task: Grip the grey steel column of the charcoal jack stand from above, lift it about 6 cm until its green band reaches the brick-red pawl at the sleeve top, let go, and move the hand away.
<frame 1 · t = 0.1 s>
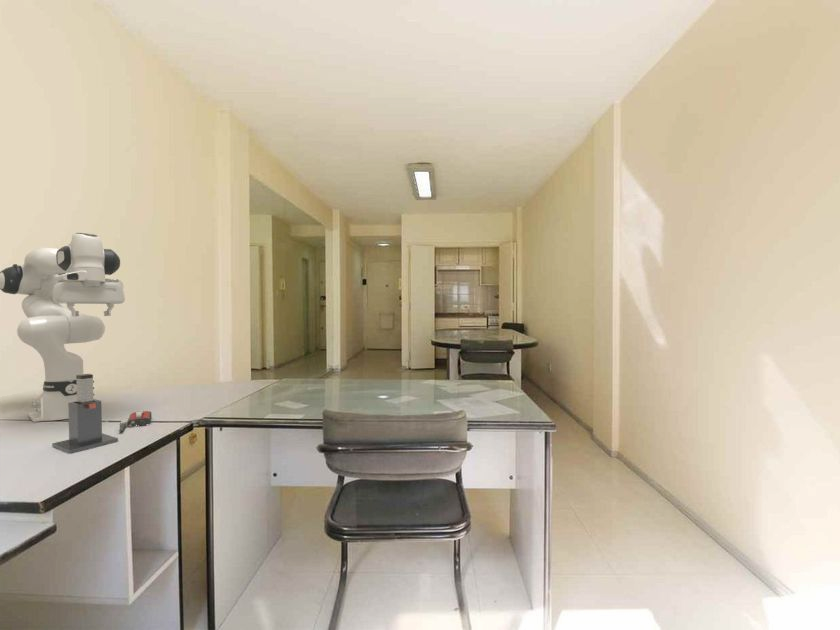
hand: (91, 316, 142), 39 cm above the table, tool pointing down, fingers open, 8 cm apart
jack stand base: (85, 444, 122), on the table
column: (85, 407, 122), point 11 cm above the table, slide at 0.0 cm
walkie-talkie: (135, 426, 142), on the table
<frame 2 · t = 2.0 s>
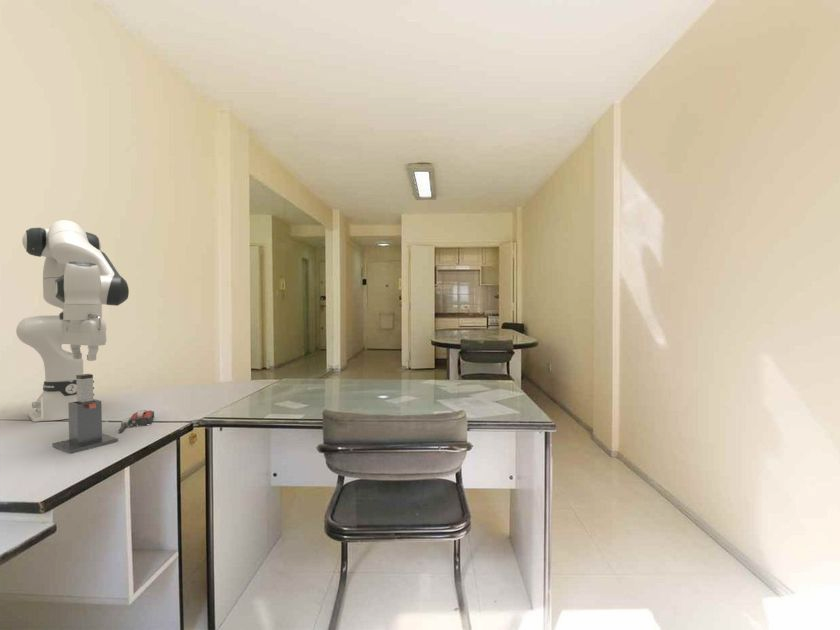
hand: (84, 359, 122), 26 cm above the table, tool pointing down, fingers open, 8 cm apart
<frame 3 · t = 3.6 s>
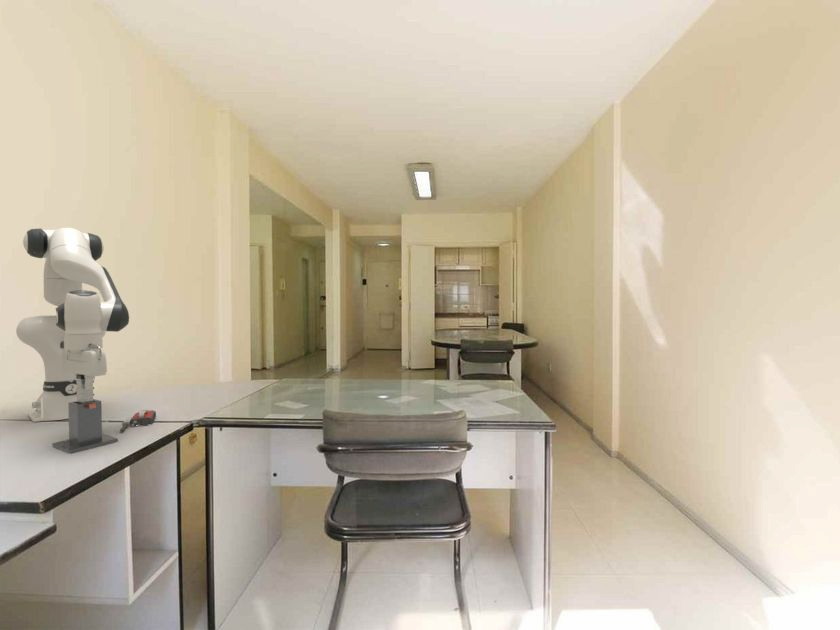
hand: (84, 388, 122), 17 cm above the table, tool pointing down, fingers closed on column, 3 cm apart
column: (85, 407, 122), point 11 cm above the table, slide at 0.0 cm, touching gripper
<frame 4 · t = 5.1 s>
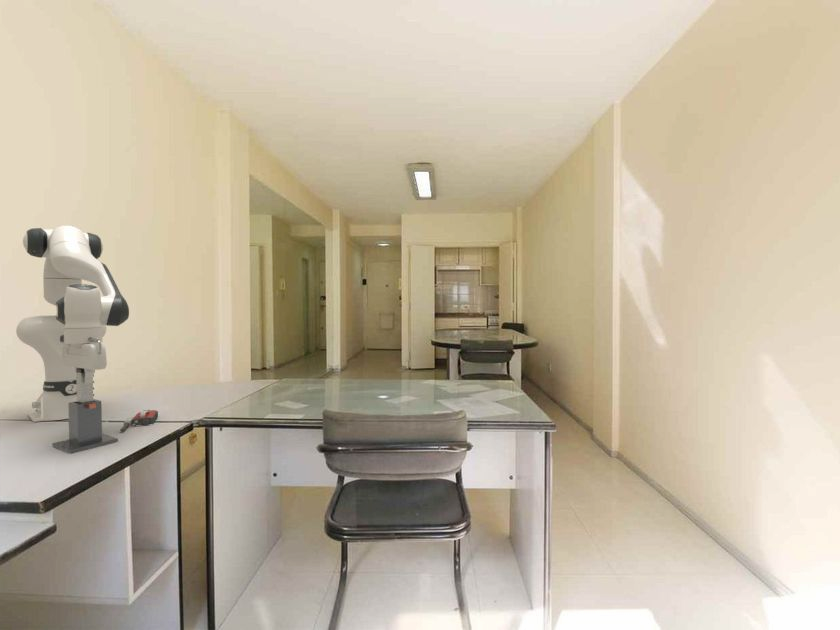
hand: (84, 382, 122), 19 cm above the table, tool pointing down, fingers closed on column, 3 cm apart
column: (85, 401, 122), point 13 cm above the table, slide at 1.9 cm, touching gripper
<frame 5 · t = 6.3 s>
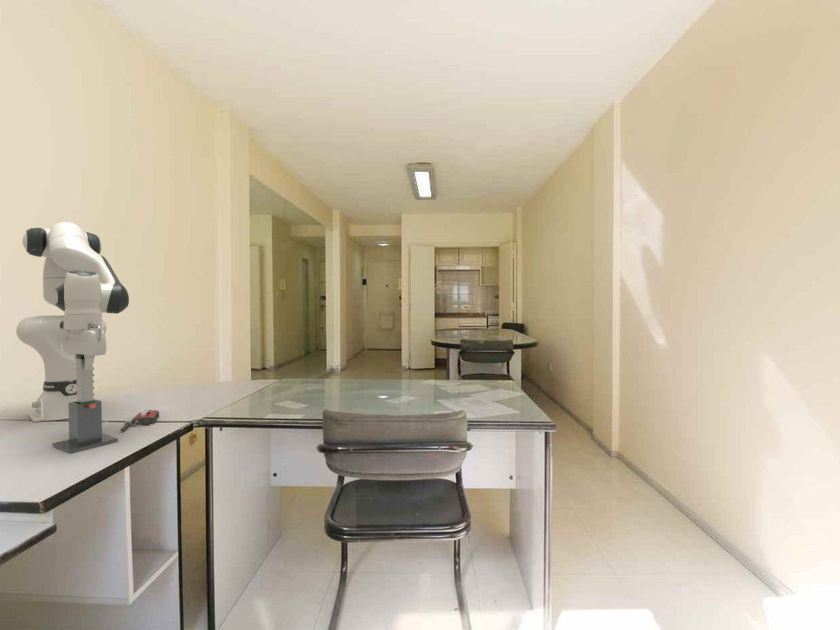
hand: (84, 368, 122), 23 cm above the table, tool pointing down, fingers closed on column, 3 cm apart
column: (85, 387, 122), point 17 cm above the table, slide at 6.0 cm, touching gripper
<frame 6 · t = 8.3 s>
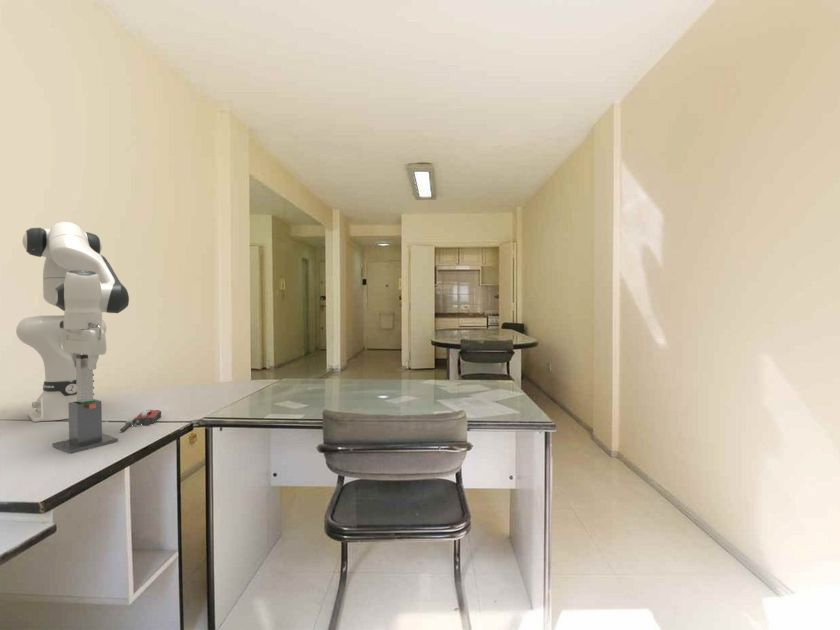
hand: (84, 368, 122), 23 cm above the table, tool pointing down, fingers open, 8 cm apart
column: (85, 387, 122), point 17 cm above the table, slide at 6.2 cm
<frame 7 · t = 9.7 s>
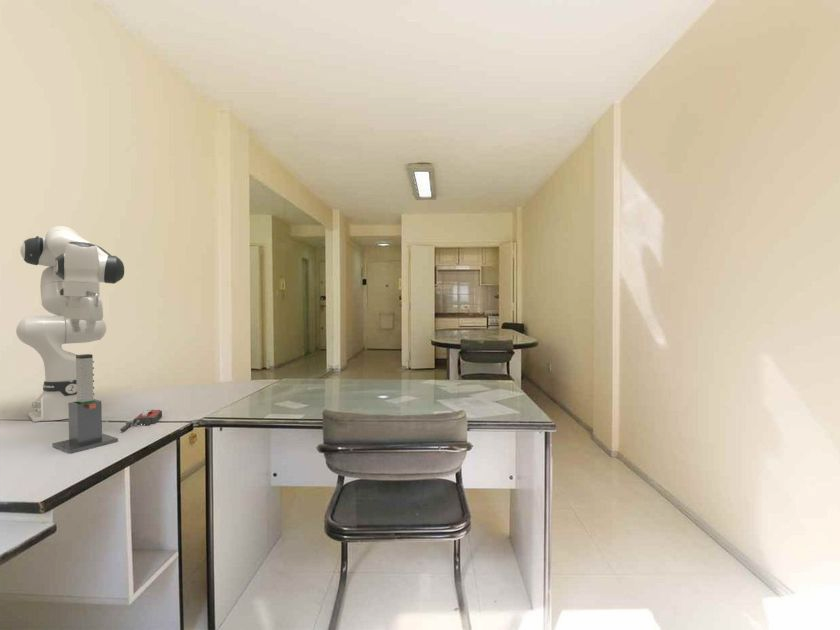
hand: (82, 333, 131), 33 cm above the table, tool pointing down, fingers open, 8 cm apart
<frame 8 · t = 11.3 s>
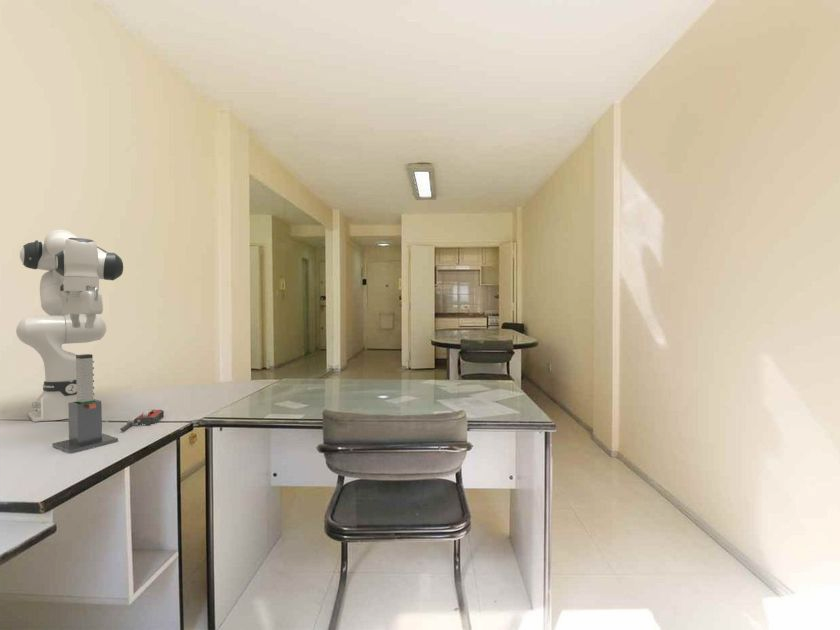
hand: (82, 328, 133), 35 cm above the table, tool pointing down, fingers open, 8 cm apart
at the end: column slide at 6.2 cm; the gripper is holding nothing; walkie-talkie moved 2.4 cm from its start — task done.
